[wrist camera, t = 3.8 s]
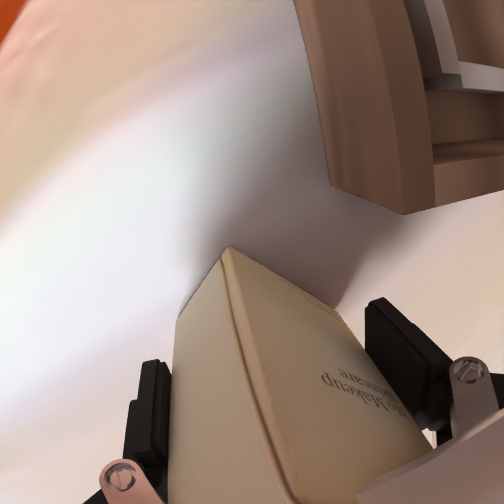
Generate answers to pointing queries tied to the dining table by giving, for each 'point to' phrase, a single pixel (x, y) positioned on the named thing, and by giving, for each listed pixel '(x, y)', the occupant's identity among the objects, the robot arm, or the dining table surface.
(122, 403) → the dining table surface
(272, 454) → the skincare box
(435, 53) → the walled box
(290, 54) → the dining table surface
